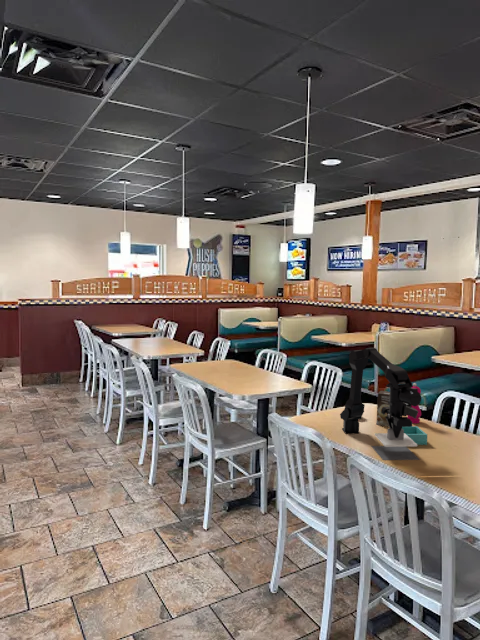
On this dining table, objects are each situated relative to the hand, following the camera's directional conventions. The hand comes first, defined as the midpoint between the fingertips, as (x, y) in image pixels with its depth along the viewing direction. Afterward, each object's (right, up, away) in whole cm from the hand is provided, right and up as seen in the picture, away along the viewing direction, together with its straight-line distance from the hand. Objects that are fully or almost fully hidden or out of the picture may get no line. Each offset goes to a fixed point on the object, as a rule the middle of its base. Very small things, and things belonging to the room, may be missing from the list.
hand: (395, 436), depth 187 cm
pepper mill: (+24, -4, +42) cm, 49 cm away
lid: (0, -2, 0) cm, 2 cm away
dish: (+12, -6, +15) cm, 20 cm away
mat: (0, -7, +1) cm, 7 cm away
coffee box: (+9, -4, +38) cm, 39 cm away
